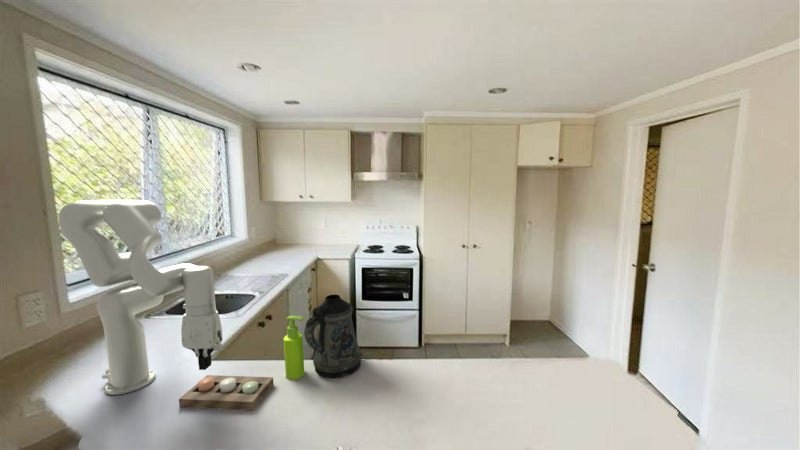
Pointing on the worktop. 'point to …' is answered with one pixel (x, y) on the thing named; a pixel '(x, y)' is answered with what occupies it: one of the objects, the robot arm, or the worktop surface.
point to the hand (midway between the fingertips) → (205, 367)
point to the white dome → (228, 385)
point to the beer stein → (333, 339)
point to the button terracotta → (206, 384)
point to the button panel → (227, 394)
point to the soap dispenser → (293, 350)
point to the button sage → (250, 387)
